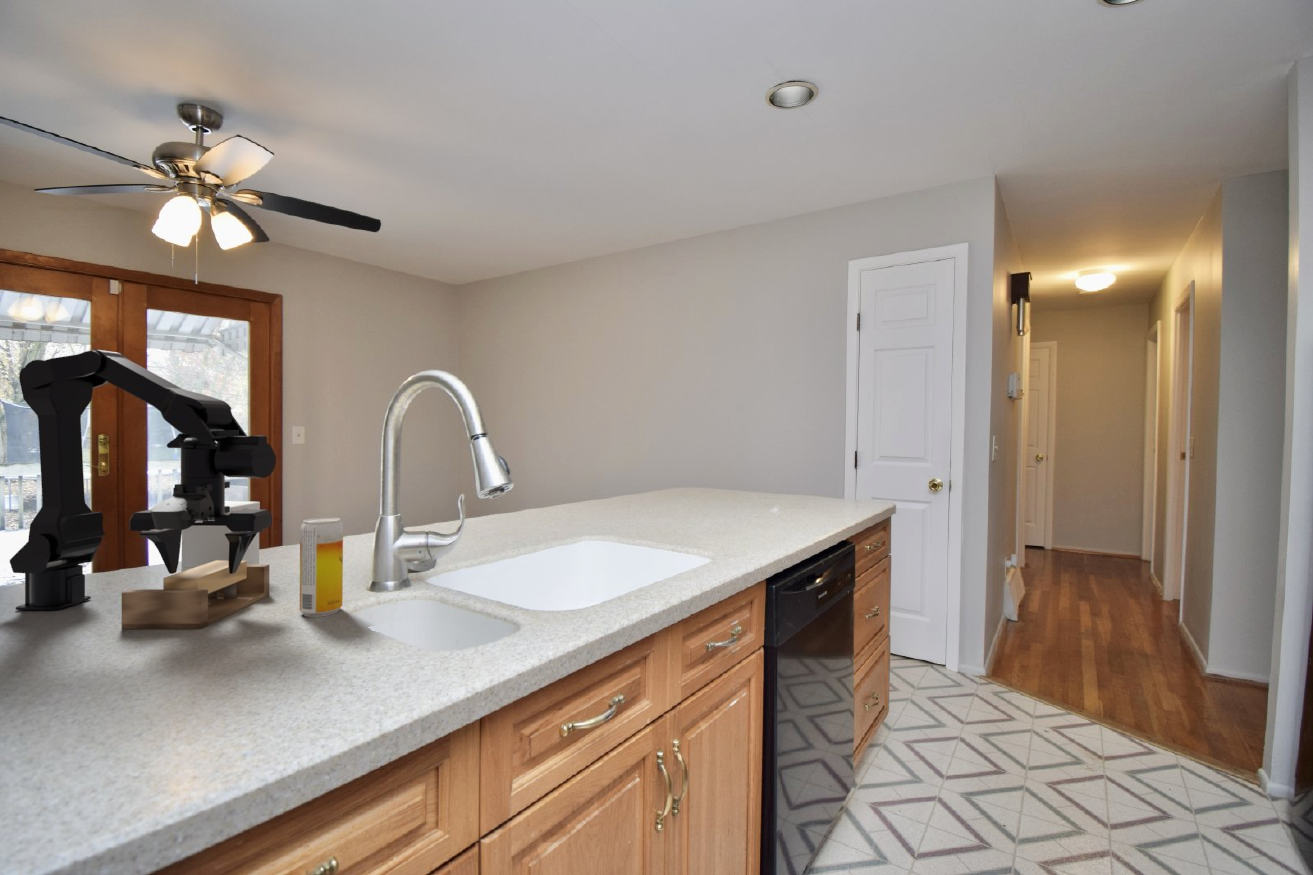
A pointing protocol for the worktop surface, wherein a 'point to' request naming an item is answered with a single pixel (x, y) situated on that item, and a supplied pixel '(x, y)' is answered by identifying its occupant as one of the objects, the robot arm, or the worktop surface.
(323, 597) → the beer can
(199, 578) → the shelf board
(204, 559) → the supplement box
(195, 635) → the worktop surface
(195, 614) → the peg frame
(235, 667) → the worktop surface
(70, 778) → the worktop surface
